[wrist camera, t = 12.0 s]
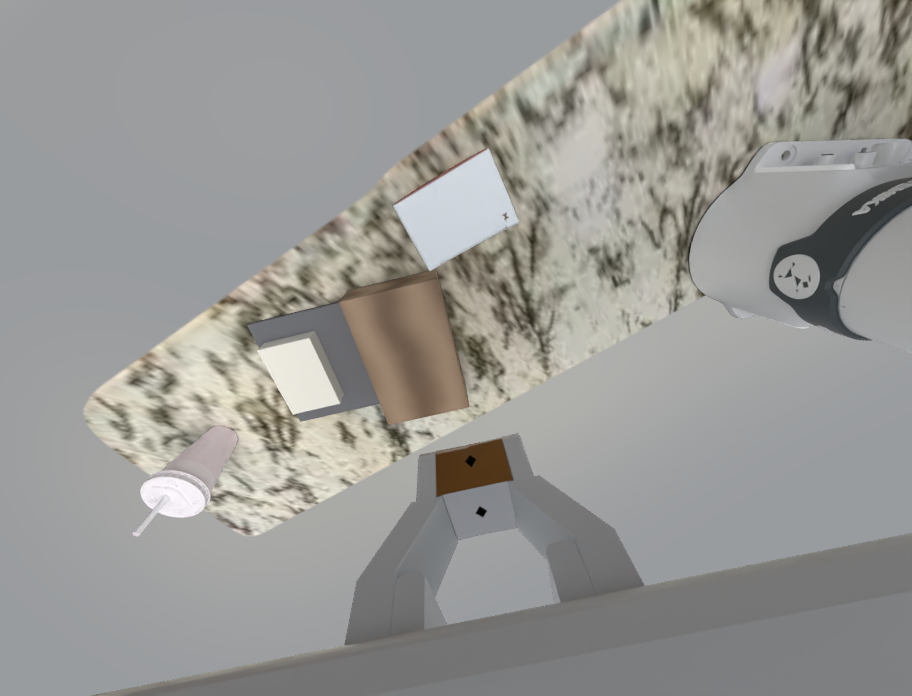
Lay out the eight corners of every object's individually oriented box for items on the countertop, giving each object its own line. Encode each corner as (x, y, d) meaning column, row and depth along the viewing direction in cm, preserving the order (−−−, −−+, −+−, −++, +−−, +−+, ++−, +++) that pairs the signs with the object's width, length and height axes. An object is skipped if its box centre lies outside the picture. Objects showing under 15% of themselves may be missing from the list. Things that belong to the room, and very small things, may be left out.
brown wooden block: (436, 269, 36) (436, 278, 33) (466, 388, 44) (469, 406, 40) (347, 290, 37) (339, 302, 33) (392, 405, 44) (388, 425, 40)
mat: (351, 299, 37) (350, 300, 37) (389, 399, 44) (389, 401, 43) (249, 323, 38) (247, 325, 37) (301, 419, 44) (300, 421, 44)
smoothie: (218, 409, 43) (130, 504, 30) (259, 439, 45) (193, 539, 33) (185, 433, 44) (87, 534, 31) (227, 462, 46) (151, 565, 34)
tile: (256, 350, 37) (264, 342, 38) (292, 414, 41) (298, 404, 42) (309, 338, 36) (315, 330, 38) (340, 403, 40) (344, 394, 42)
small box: (473, 154, 32) (491, 143, 22) (497, 210, 34) (523, 221, 25) (401, 197, 33) (389, 204, 24) (429, 248, 35) (429, 273, 26)
